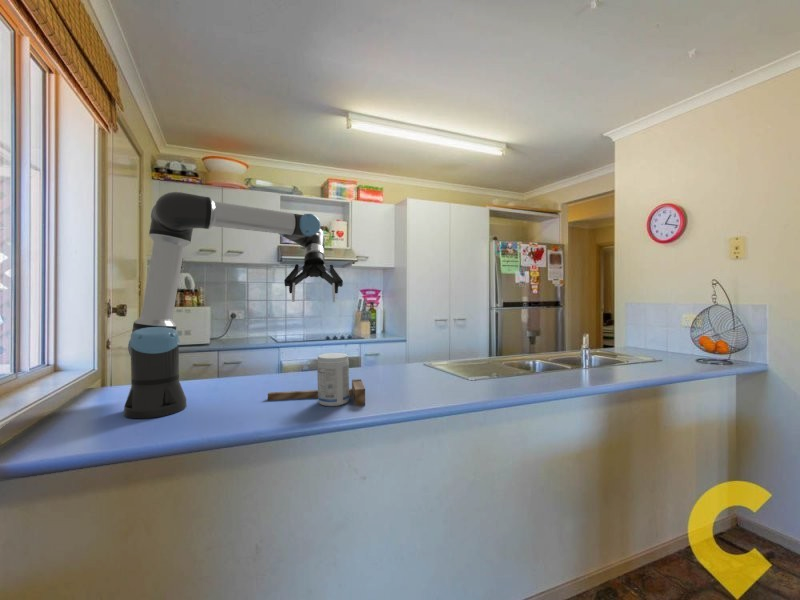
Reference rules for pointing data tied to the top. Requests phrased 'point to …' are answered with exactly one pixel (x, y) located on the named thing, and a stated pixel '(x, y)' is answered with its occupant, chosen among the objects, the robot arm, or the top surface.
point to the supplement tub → (333, 379)
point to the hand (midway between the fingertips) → (313, 299)
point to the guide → (356, 392)
